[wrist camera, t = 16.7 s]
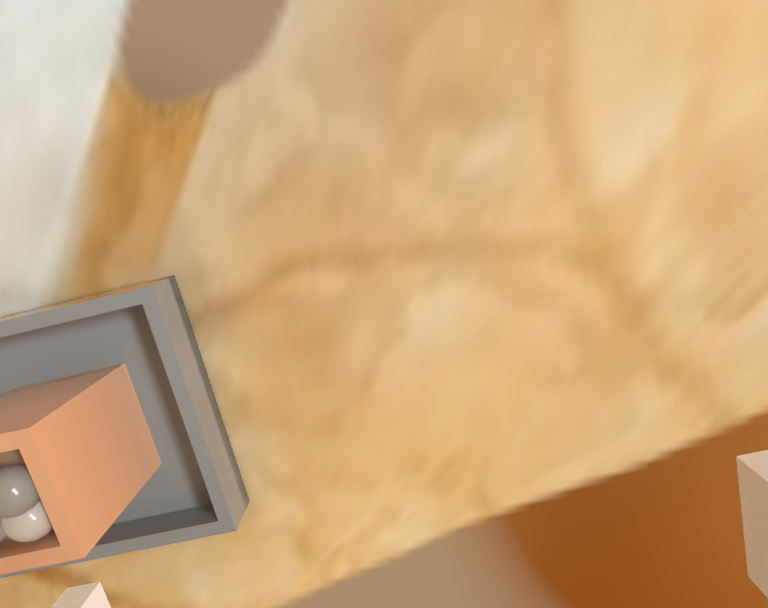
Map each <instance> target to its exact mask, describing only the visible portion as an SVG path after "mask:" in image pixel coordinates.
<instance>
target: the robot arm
mask: <svg viewBox="0 0 768 608" xmlns="http://www.w3.org/2000/svg"><path fill="white" fill-rule="evenodd" d="M736 459H737V469H738V479H739V489H740V497H741V498H740V499H741V509H742V519H743V529H744V539H745V548H746V558H747V569H748V576H749V577H750V579H751V580H752V581H753V582H754V583H755V584H756V585H757V586H758V588H759V589H760V590H761V591H762V592H763V593H764V594H765V595H766V597H767V598H768V450H766V451H760V452H755V453H750V454H745V455H740V456H737V457H736ZM51 608H111V607H110V605H109V602H108V600H107V597H106V595H105V593H104V590H103V588H102V586H101V583H100V582H96V583H91V584H85V585H80V586H75V587H70V588H66V589H65V590H64V592H63V593H62V594H61V595H60V597H59V598H58V599H57V600H56V602H55V603H54V604H53V605H52V606H51Z"/></svg>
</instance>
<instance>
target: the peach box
mask: <svg viewBox="0 0 768 608" xmlns="http://www.w3.org/2000/svg"><path fill="white" fill-rule="evenodd" d="M161 464H162V463H161V460H160V457H159V455H158V452H157V449H156V447H155V444H154V441H153V438H152V436H151V433H150V430H149V427H148V425H147V422H146V419H145V417H144V414H143V411H142V408H141V406H140V403H139V400H138V397H137V395H136V392H135V389H134V386H133V384H132V381H131V378H130V376H129V373H128V370H127V367H126V365H125V363H122V364H117V365H113V366H108V367H104V368H100V369H95V370H91V371H87V372H82V373H78V374H73V375H69V376H65V377H60V378H56V379H51V380H47V381H43V382H38V383H34V384H29V385H25V386H21V387H18V388H16V389H15V390H13V391H11V392H9V393H7V394H6V395H4V396H2V397H0V575H2V574H7V573H12V572H17V571H22V570H27V569H32V568H37V567H42V566H47V565H52V564H57V563H62V562H67V561H72V560H77V559H82V558H85V557H86V555H87V554H88V553H89V552H90V551H91V549H92V548H93V547H94V546H95V544H96V543H97V542H98V541H99V540H100V538H101V537H102V536H103V535H104V533H105V532H106V531H107V530H108V529H109V527H110V526H111V525H112V524H113V522H114V521H115V520H116V519H117V518H118V516H119V515H120V514H121V513H122V511H123V510H124V509H125V508H126V507H127V505H128V504H129V503H130V502H131V500H132V499H133V498H134V497H135V496H136V494H137V493H138V492H139V491H140V489H141V488H142V487H143V486H144V485H145V483H146V482H147V481H148V480H149V478H150V477H151V476H152V475H153V474H154V472H155V471H156V470H157V469H158V468H159V466H160V465H161Z"/></svg>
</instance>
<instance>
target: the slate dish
mask: <svg viewBox="0 0 768 608" xmlns="http://www.w3.org/2000/svg"><path fill="white" fill-rule="evenodd" d="M122 363H125V365H126V367H127V370H128V373H129V376H130V378H131V381H132V384H133V386H134V389H135V392H136V395H137V397H138V400H139V403H140V406H141V408H142V411H143V414H144V417H145V419H146V422H147V425H148V427H149V430H150V433H151V436H152V438H153V441H154V444H155V447H156V449H157V452H158V455H159V457H160V460H161V463H162V464H161V465H160V466H159V468H158V469H157V470H156V471H155V472H154V474H153V475H152V476H151V477H150V478H149V480H148V481H147V482H146V483H145V485H144V486H143V487H142V488H141V489H140V491H139V492H138V493H137V494H136V496H135V497H134V498H133V499H132V500H131V502H130V503H129V504H128V505H127V507H126V508H125V509H124V510H123V511H122V513H121V514H120V515H119V516H118V518H117V519H116V520H115V521H114V522H113V524H112V525H111V526H110V527H109V529H108V530H107V531H106V532H105V533H104V535H103V536H102V537H101V538H100V540H99V541H98V542H97V543H96V544H95V546H94V547H93V548H92V549H91V551H90V552H89V553H88V554H87V555H86V557H85V558H82V559H77V560H72V561H67V562H62V563H57V564H52V565H47V566H42V567H37V568H32V569H27V570H22V571H17V572H12V573H7V574H2V575H0V578H2V577H7V576H12V575H17V574H22V573H27V572H32V571H37V570H42V569H47V568H52V567H57V566H62V565H67V564H72V563H77V562H82V561H87V560H92V559H97V558H102V557H107V556H112V555H117V554H122V553H127V552H132V551H137V550H142V549H147V548H152V547H157V546H162V545H167V544H172V543H177V542H182V541H187V540H192V539H197V538H202V537H207V536H212V535H217V534H222V533H227V532H232V531H236V530H237V528H238V525H239V523H240V521H241V519H242V517H243V514H244V512H245V510H246V508H247V505H248V503H249V498H248V495H247V492H246V489H245V486H244V483H243V480H242V477H241V474H240V471H239V468H238V465H237V462H236V459H235V456H234V453H233V450H232V447H231V444H230V441H229V438H228V435H227V432H226V429H225V426H224V423H223V420H222V417H221V414H220V411H219V408H218V405H217V402H216V399H215V396H214V393H213V390H212V387H211V384H210V381H209V378H208V375H207V372H206V369H205V366H204V363H203V360H202V357H201V354H200V351H199V348H198V345H197V342H196V339H195V336H194V333H193V330H192V327H191V324H190V321H189V318H188V315H187V312H186V309H185V306H184V303H183V300H182V297H181V294H180V291H179V288H178V285H177V282H176V279H175V276H170V277H166V278H162V279H158V280H154V281H150V282H145V283H141V284H137V285H133V286H129V287H124V288H120V289H116V290H112V291H108V292H104V293H99V294H95V295H91V296H87V297H83V298H79V299H74V300H70V301H66V302H62V303H58V304H53V305H49V306H45V307H41V308H37V309H33V310H28V311H24V312H20V313H16V314H12V315H8V316H3V317H0V397H2V396H4V395H6V394H7V393H9V392H11V391H13V390H15V389H16V388H18V387H21V386H25V385H29V384H34V383H38V382H43V381H47V380H51V379H56V378H60V377H65V376H69V375H73V374H78V373H82V372H87V371H91V370H95V369H100V368H104V367H108V366H113V365H117V364H122Z"/></svg>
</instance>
